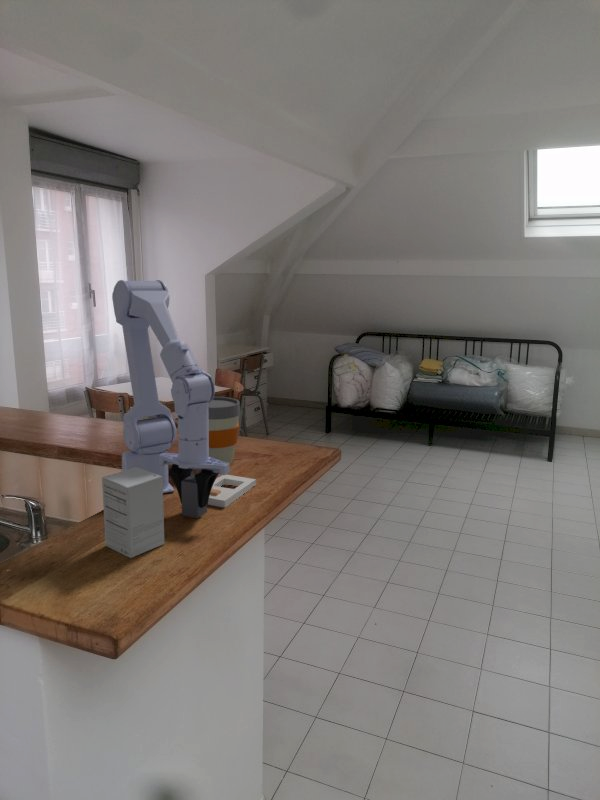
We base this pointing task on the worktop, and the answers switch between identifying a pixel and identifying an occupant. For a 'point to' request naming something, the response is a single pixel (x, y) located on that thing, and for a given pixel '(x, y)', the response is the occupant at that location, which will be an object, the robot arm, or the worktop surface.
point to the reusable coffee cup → (223, 427)
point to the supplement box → (133, 511)
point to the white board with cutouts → (226, 495)
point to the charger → (191, 497)
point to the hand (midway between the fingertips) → (194, 504)
